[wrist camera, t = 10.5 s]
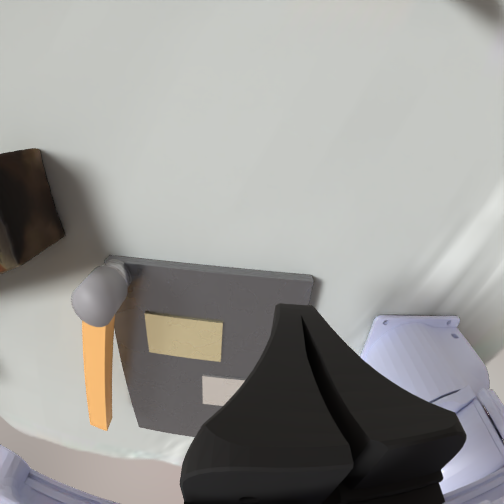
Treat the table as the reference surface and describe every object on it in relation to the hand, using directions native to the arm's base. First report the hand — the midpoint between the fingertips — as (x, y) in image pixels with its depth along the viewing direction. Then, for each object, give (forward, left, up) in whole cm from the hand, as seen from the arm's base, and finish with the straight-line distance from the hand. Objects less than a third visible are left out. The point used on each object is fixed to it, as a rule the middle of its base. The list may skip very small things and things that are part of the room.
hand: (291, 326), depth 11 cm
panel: (+5, +14, -10) cm, 18 cm away
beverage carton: (+26, +1, -11) cm, 28 cm away
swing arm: (+13, +11, -8) cm, 18 cm away
